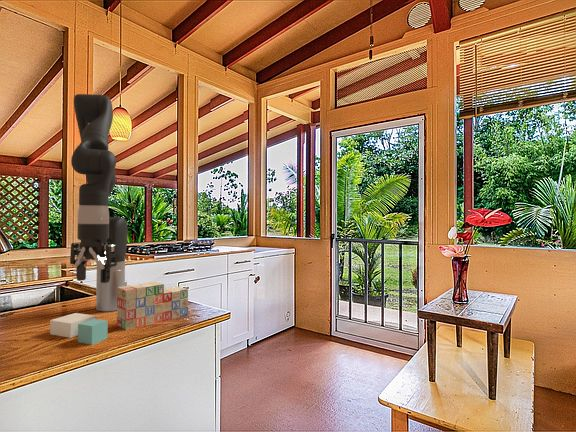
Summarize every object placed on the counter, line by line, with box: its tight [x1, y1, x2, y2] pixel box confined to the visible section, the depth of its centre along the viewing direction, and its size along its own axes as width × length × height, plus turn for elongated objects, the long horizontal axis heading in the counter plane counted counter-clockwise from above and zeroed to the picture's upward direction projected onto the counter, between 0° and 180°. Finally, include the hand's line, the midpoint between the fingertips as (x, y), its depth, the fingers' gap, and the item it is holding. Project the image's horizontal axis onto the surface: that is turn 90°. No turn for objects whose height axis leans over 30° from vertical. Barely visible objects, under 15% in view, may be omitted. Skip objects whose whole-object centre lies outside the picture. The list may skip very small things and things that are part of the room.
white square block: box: [49, 312, 96, 339], centre depth 102 cm, size 8×8×4 cm
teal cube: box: [77, 318, 109, 345], centre depth 95 cm, size 5×5×5 cm
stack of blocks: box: [116, 281, 189, 331], centre depth 114 cm, size 21×6×12 cm, turn 139°
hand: (92, 281), depth 95 cm, fingers open, 8 cm apart
